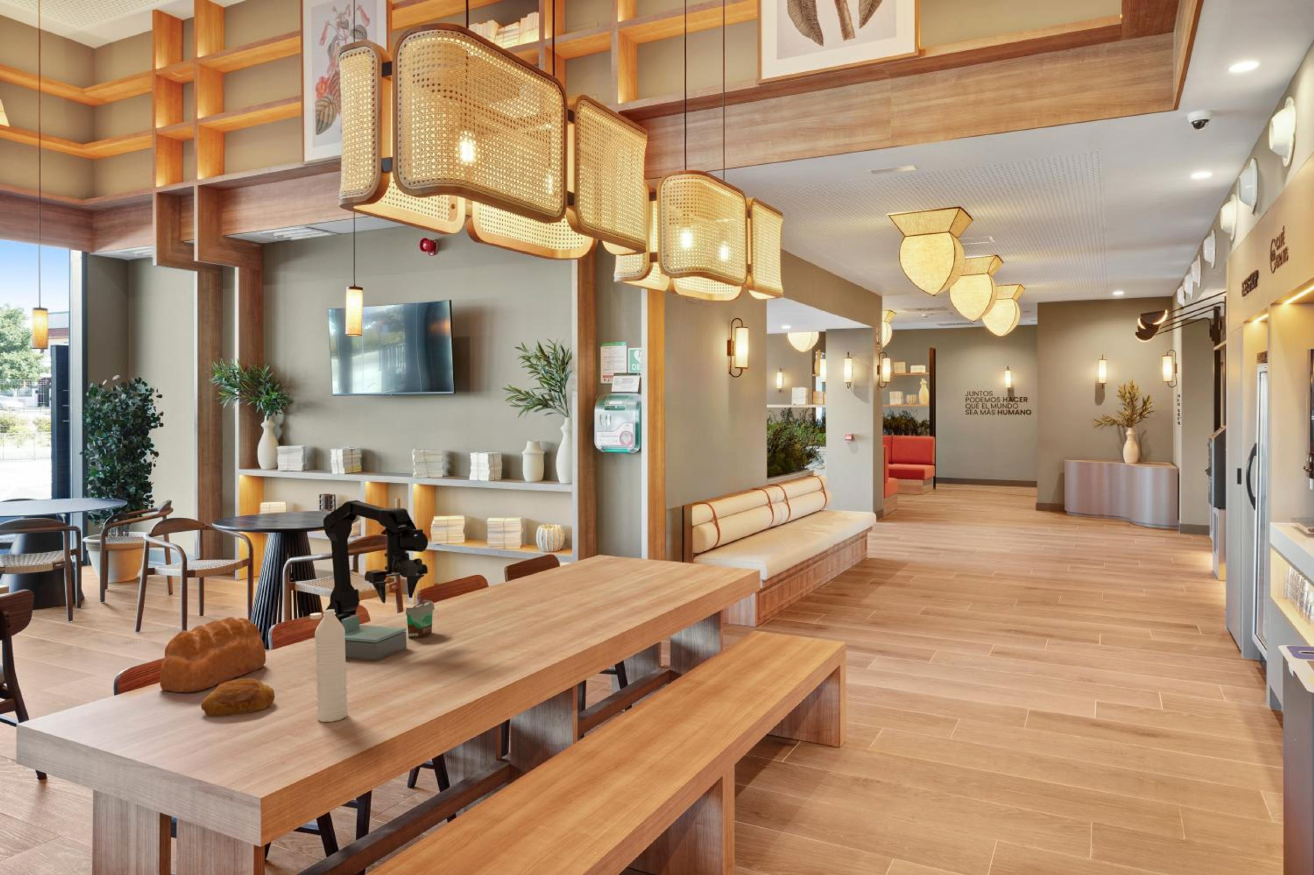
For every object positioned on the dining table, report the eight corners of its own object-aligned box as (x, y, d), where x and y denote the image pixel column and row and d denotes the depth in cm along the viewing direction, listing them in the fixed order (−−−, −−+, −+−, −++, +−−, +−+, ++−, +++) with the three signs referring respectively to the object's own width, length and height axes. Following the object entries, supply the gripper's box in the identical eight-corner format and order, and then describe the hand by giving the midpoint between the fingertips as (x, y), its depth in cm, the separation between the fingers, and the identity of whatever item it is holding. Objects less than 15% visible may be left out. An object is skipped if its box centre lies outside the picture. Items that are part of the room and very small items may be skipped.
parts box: (331, 657, 245) (330, 640, 245) (362, 644, 259) (362, 628, 259) (376, 661, 240) (376, 643, 240) (406, 648, 253) (406, 631, 253)
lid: (330, 639, 245) (329, 622, 245) (362, 627, 259) (361, 612, 258) (376, 642, 240) (375, 625, 240) (406, 630, 253) (405, 614, 253)
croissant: (268, 722, 198) (272, 689, 198) (195, 721, 194) (199, 687, 194) (278, 702, 212) (281, 670, 212) (209, 700, 208) (213, 668, 208)
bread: (153, 691, 217) (151, 632, 217) (233, 662, 242) (231, 609, 242) (196, 695, 213) (193, 635, 213) (272, 665, 238) (270, 611, 238)
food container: (424, 640, 262) (423, 608, 262) (406, 639, 264) (405, 608, 263) (442, 630, 274) (441, 600, 274) (424, 630, 276) (423, 599, 275)
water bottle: (331, 711, 198) (328, 605, 198) (353, 714, 196) (350, 607, 195) (303, 724, 190) (300, 614, 190) (326, 727, 188) (323, 615, 187)
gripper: (383, 556, 245) (384, 609, 246) (437, 548, 259) (438, 598, 260) (363, 552, 253) (364, 604, 253) (417, 545, 267) (418, 593, 267)
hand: (397, 600), depth 258 cm, fingers open, 9 cm apart
